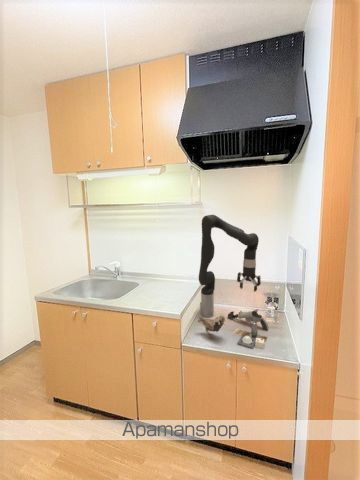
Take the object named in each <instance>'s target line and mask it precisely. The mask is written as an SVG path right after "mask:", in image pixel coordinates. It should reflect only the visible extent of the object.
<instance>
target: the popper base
mask: <svg viewBox="0 0 360 480" xmlns="http://www.w3.org/2000/svg"><path fill="white" fill-rule="evenodd" d="M243 337H245V336H242V335H241V337H240V338H239V340H238V341H237V343H236V345H238V346H240V347H244V348H247V349H250V350H253V349H254V347H255V342H256V339H253V338H251V339H252V344H251V345H248V344H244V343H243Z"/></svg>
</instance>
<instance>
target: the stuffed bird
mask: <svg viewBox="0 0 360 480" xmlns="http://www.w3.org/2000/svg"><path fill="white" fill-rule="evenodd" d="M225 321H226V316H225V315H223V314H220V315H219V316H216V317H215V318H213V319H212V318H203V317H200V316H198V319H197V322H198V323H199V324H201V325H203V326H204V328H205V332H206V333H207V335H208V337H209V339H210V340H211V339H215V338H214V337H212V333H210V332H216V333H217V332H219V331H220V330H221V329H222V326H223V325H224V326H226V324H225V323H224V322H225Z"/></svg>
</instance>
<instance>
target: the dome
mask: <svg viewBox="0 0 360 480" xmlns="http://www.w3.org/2000/svg"><path fill="white" fill-rule="evenodd" d="M242 343H244V344H248V345H251V344H252V339H251V338H250V337H249V336H245V337H243V341H242Z"/></svg>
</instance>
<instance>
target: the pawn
mask: <svg viewBox="0 0 360 480" xmlns="http://www.w3.org/2000/svg"><path fill="white" fill-rule="evenodd" d="M251 324H252V325H251ZM251 324H250V325H251V328H250V329H251V331H250V333H251V337H253V338H257V334H258V323H257V324H256V323H255V322H251Z"/></svg>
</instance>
